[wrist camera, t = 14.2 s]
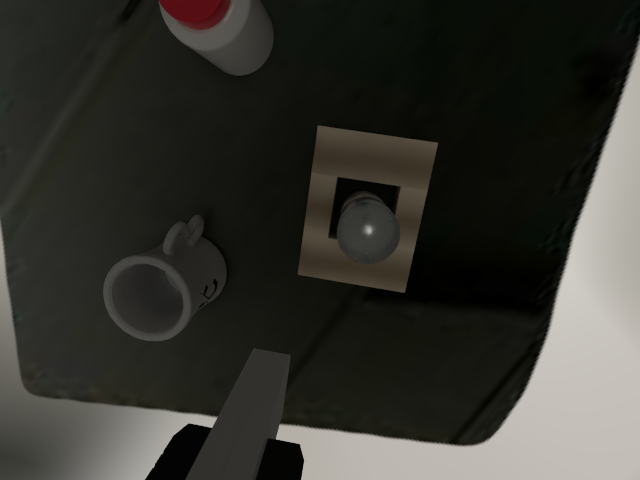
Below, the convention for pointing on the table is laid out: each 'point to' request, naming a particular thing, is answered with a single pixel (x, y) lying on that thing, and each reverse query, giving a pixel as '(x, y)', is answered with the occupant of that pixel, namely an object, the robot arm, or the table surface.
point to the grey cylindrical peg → (367, 228)
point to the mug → (165, 283)
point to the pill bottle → (223, 31)
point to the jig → (374, 166)
